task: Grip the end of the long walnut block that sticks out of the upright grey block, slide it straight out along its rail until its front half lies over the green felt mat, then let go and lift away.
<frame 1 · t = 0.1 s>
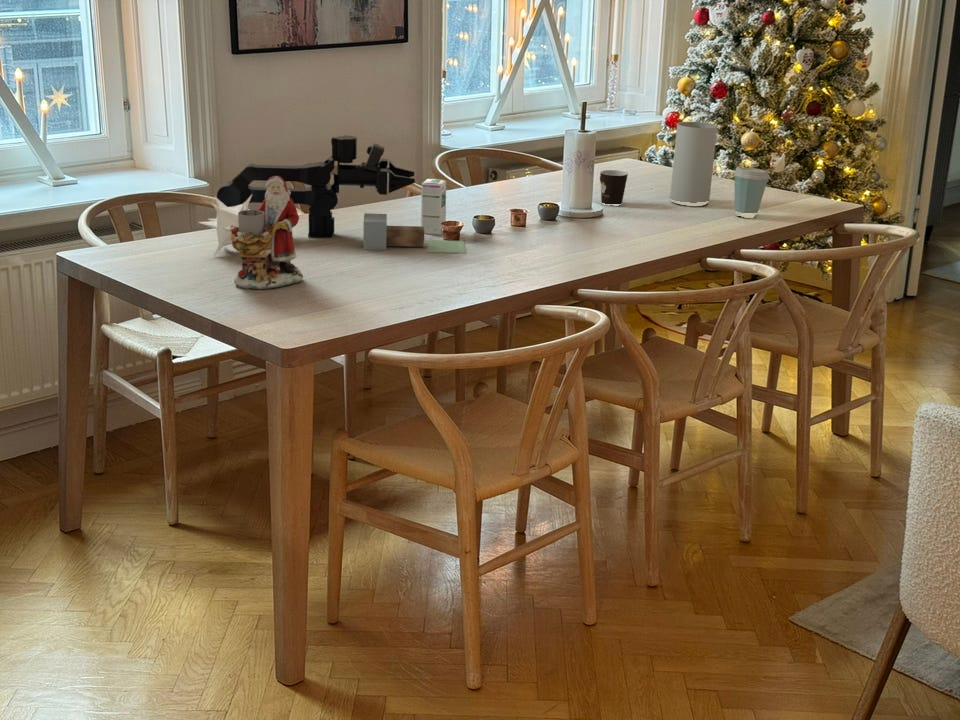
hand: (414, 177, 319), 17 cm above the table, fingers open, 9 cm apart
upright grey block: (375, 245, 314), on the table
walnut block: (393, 235, 314), point 3 cm above the table, slide at 0.0 cm
syrup box: (433, 232, 331), on the table
santa figurine: (267, 282, 280), on the table
green mat: (446, 247, 316), on the table
disposable coffee cup: (746, 217, 365), on the table
cylinder vase: (689, 203, 379), on the table
coffee mug: (611, 203, 375), on the table
star ornament: (234, 252, 303), on the table
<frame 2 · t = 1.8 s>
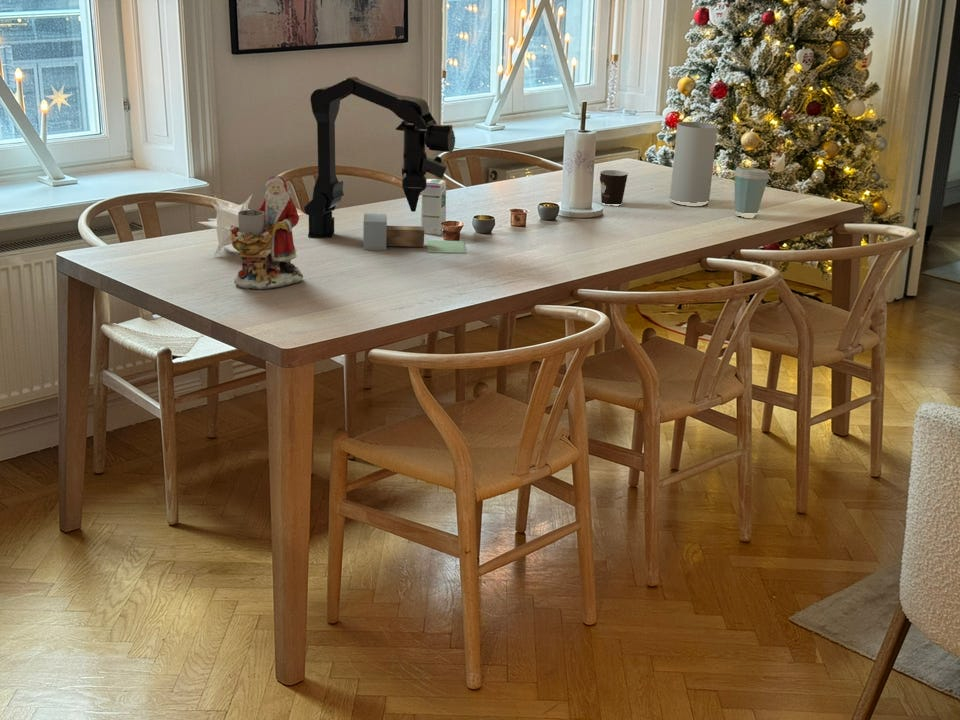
hand: (413, 207, 312), 11 cm above the table, fingers open, 9 cm apart
nothing on the table moved.
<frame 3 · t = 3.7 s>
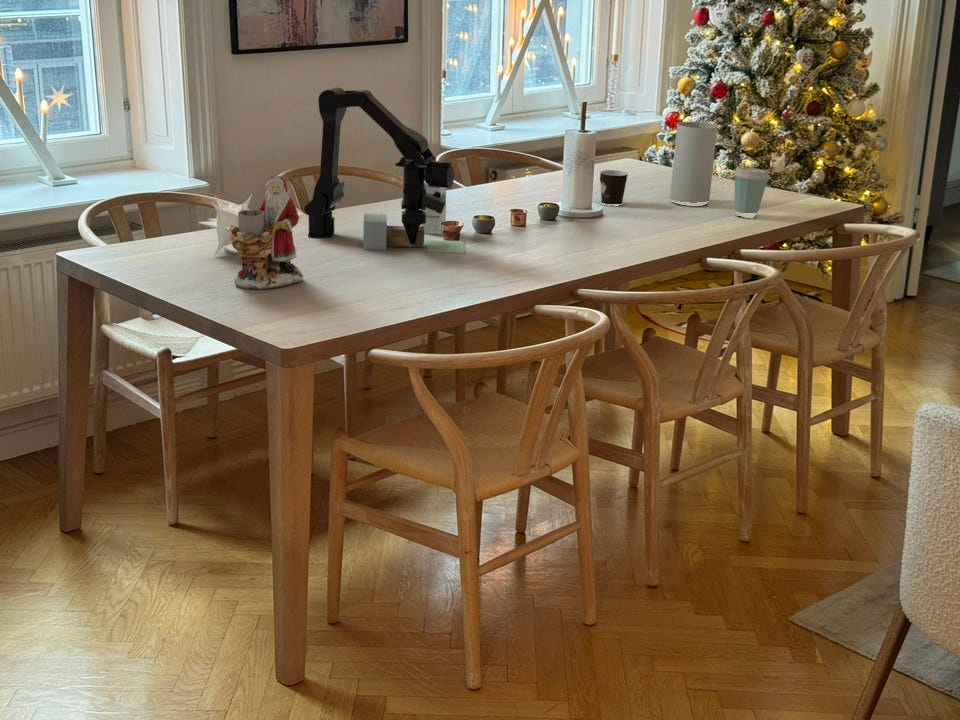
hand: (412, 241, 315), 1 cm above the table, fingers closed on walnut block, 4 cm apart
walnut block: (393, 235, 314), point 3 cm above the table, slide at 0.0 cm, touching gripper
everything else where it was.
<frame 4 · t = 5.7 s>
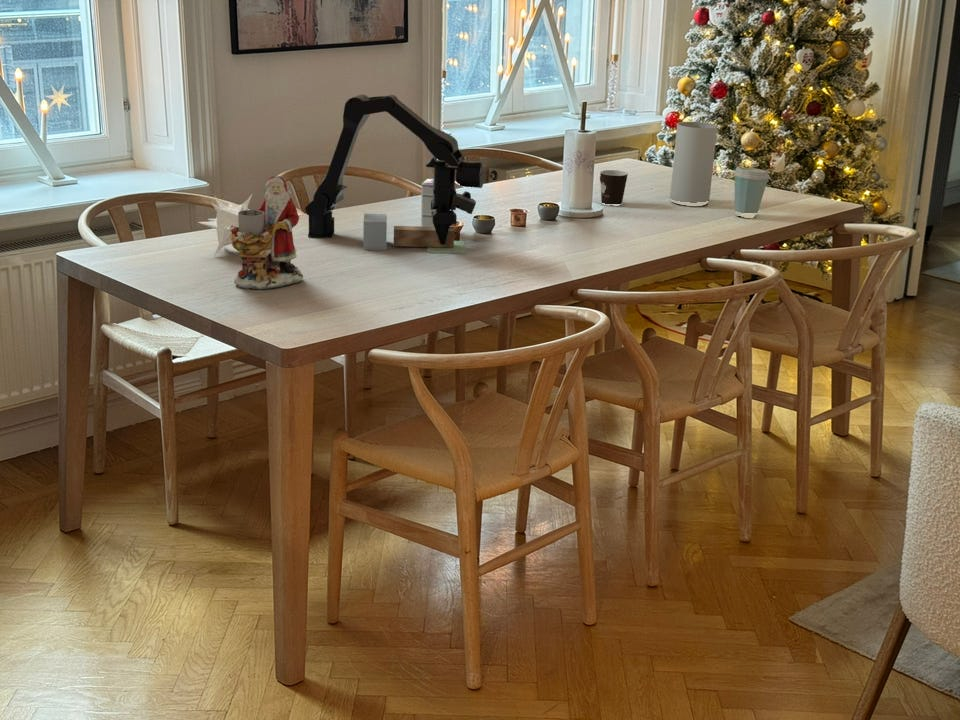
hand: (442, 242, 315), 1 cm above the table, fingers closed on walnut block, 4 cm apart
walnut block: (423, 236, 315), point 3 cm above the table, slide at 7.9 cm, touching gripper
everything else where it was.
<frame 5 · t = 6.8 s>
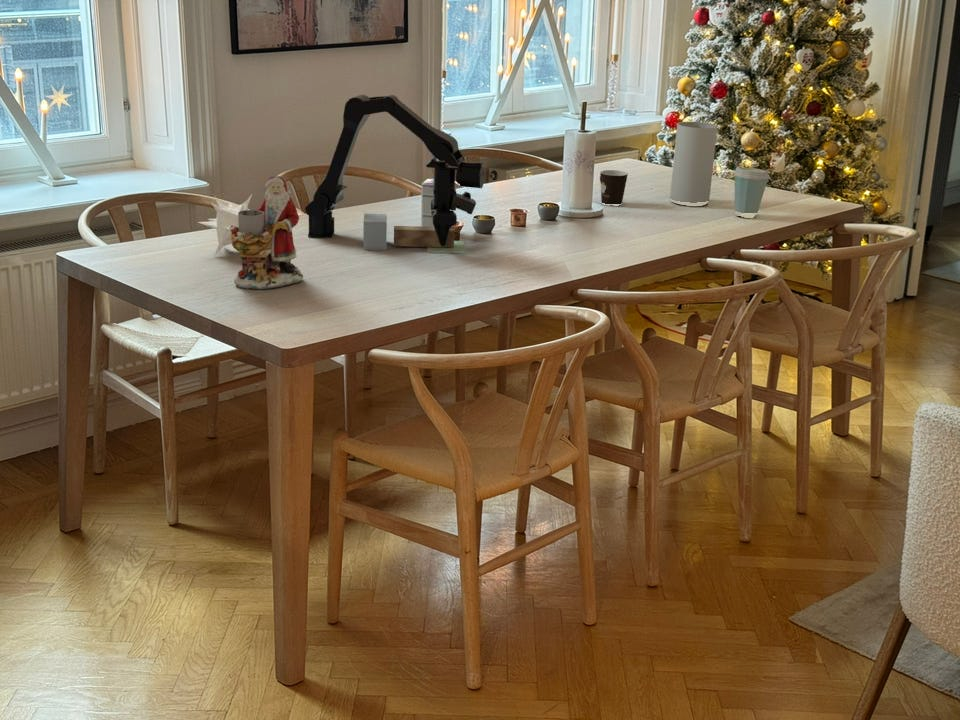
hand: (442, 242, 315), 1 cm above the table, fingers open, 7 cm apart
walnut block: (423, 236, 315), point 3 cm above the table, slide at 8.0 cm
everything else where it was.
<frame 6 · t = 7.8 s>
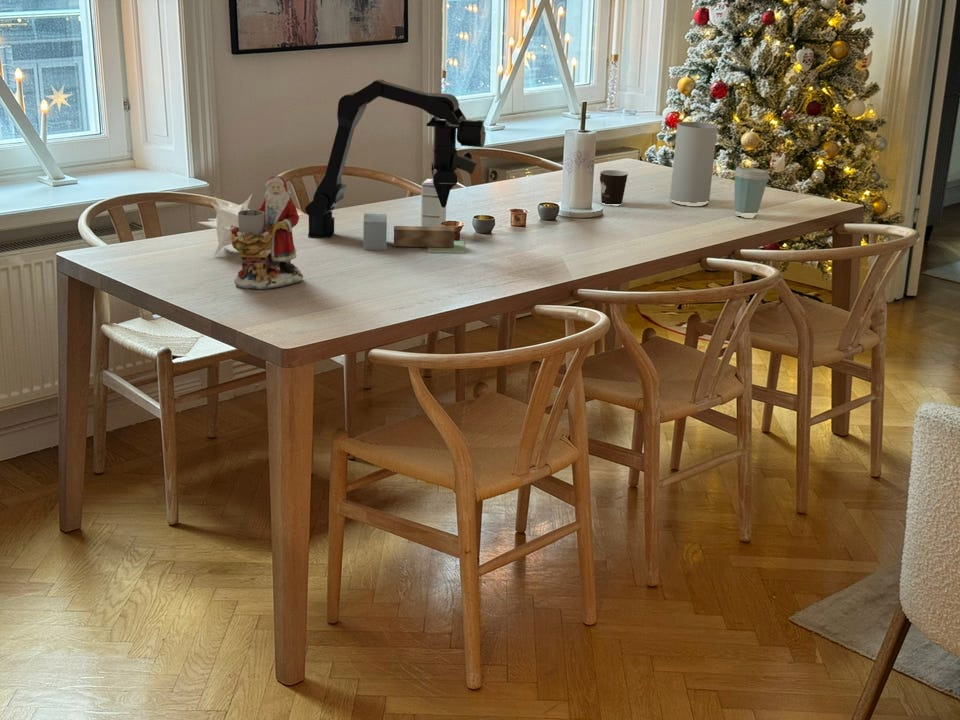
hand: (443, 203, 312), 12 cm above the table, fingers open, 9 cm apart
nothing on the table moved.
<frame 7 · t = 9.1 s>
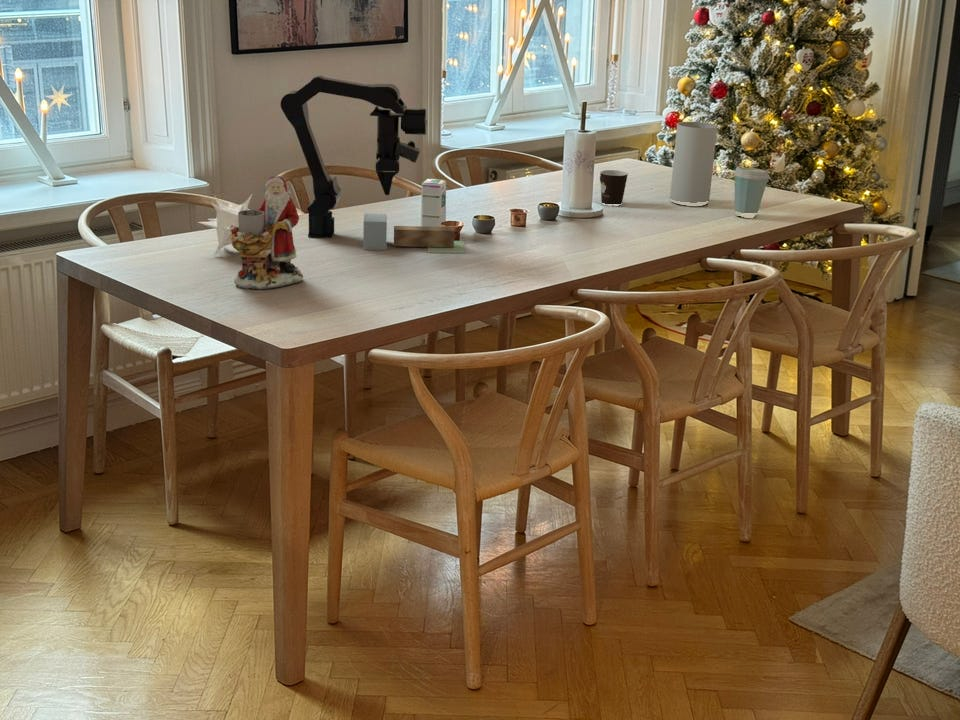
hand: (387, 191, 318), 13 cm above the table, fingers open, 9 cm apart
nothing on the table moved.
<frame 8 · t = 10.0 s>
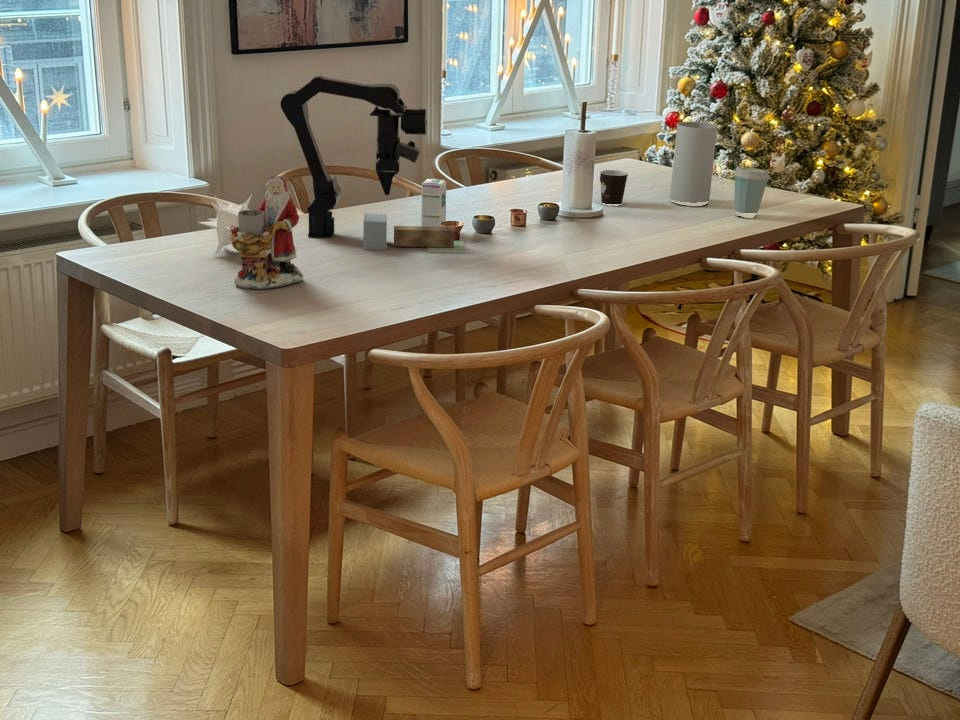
hand: (387, 191, 318), 13 cm above the table, fingers open, 9 cm apart
nothing on the table moved.
at the end: walnut block slide at 8.0 cm; walnut block 1.0 cm from the target spot, resting on green mat; the gripper is holding nothing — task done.
